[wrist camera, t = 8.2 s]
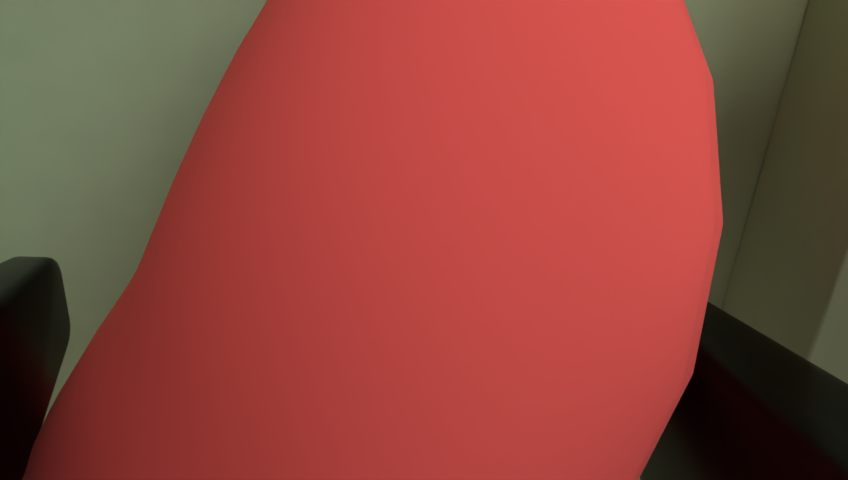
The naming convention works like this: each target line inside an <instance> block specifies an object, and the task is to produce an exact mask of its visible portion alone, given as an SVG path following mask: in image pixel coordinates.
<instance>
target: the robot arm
mask: <svg viewBox="0 0 848 480" xmlns="http://www.w3.org/2000/svg"><path fill="white" fill-rule="evenodd" d="M69 338H70V317H69V312H68V306H67V300H66V295H65V289H64V284H63V278H62V273H61V269H60V267H59V265H58V262H56V261H55V260H54V259H53V258H49V257H30V256H18V257H13V258H11V259H8V260H6V261H4V262H2V263H0V480H22V478H23V476H24V474H25V471H26V467H27V464H28V460H29V457H30V453H31V450H32V447H33V444H34V442H35V440H36V438H37V436H38V434H39V431H40V429H41V427H42V425H43V421H44V418H45V415H46V412H47V409H48V406H49V403H50V400H51V396H52V393H53V390H54V387H55V384H56V381H57V378H58V375H59V371H60V368H61V365H62V362H63V359H64V356H65V353H66V350H67V347H68V343H69ZM640 480H848V384H847V383H845V382H844V381H842V380H840V379H839V378H837V377H835V376H834V375H832V374H830V373H828V372H827V371H825V370H823V369H822V368H820V367H818V366H817V365H815V364H813V363H811V362H810V361H808V360H806V359H805V358H803V357H801V356H800V355H798V354H796V353H794V352H793V351H791V350H789V349H788V348H786V347H784V346H783V345H781V344H779V343H778V342H776V341H774V340H772V339H771V338H769V337H767V336H766V335H764V334H762V333H761V332H759V331H757V330H755V329H754V328H752V327H750V326H749V325H747V324H745V323H744V322H742V321H740V320H738V319H737V318H735V317H733V316H732V315H730V314H728V313H727V312H725V311H723V310H722V309H720V308H718V307H716V306H715V305H713V304H711V303H710V302H707V307H706V312H705V317H704V322H703V327H702V332H701V337H700V342H699V347H698V351H697V356H696V361H695V366H694V371H693V375H692V377H691V379H690V381H689V383H688V384H687V386H686V388H685V390H684V392H683V394H682V396H681V398H680V400H679V402H678V404H677V406H676V408H675V410H674V412H673V414H672V416H671V417H670V419H669V421H668V423H667V425H666V427H665V429H664V431H663V433H662V435H661V437H660V439H659V441H658V443H657V445H656V447H655V449H654V450H653V452H652V454H651V456H650V458H649V460H648V462H647V464H646V466H645V468H644V470H643V472H642V474H641V476H640Z"/></svg>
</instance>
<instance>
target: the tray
mask: <svg viewBox="0 0 848 480" xmlns="http://www.w3.org/2000/svg"><path fill="white" fill-rule="evenodd" d="M266 2H267V0H0V263H2V262H4V261H6V260H8V259H11V258H13V257H18V256H30V257H49V258H53V259H54V260H55V261H56V262H58V265H59V267H60V269H61V273H62V278H63V284H64V289H65V295H66V300H67V306H68V312H69V317H70V338H69V343H68V347H67V350H66V353H65V356H64V359H63V362H62V365H61V368H60V371H59V375H58V378H57V381H56V384H55V387H54V390H53V393H52V396H51V400H50V403H49V406H48V409H47V412H46V415H45V418H44V421H45V419H46V416H47V414H48V412H49V410H50V408H51V407H52V405H53V403H54V401H55V399H56V398H57V396H58V394H59V392H60V390H61V389H62V387H63V386H64V384H65V382H66V381H67V379H68V377H69V376H70V374H71V372H72V371H73V369H74V367H75V366H76V364H77V363H78V361H79V359H80V358H81V356H82V354H83V353H84V351H85V349H86V348H87V346H88V345H89V343H90V341H91V340H92V338H93V336H94V335H95V333H96V331H97V330H98V328H99V327H100V326H101V324H102V323H103V321H104V320H105V318H106V317H107V315H108V314H109V312H110V311H111V309H112V308H113V306H114V305H115V303H116V302H117V300H118V299H119V297H120V296H121V295H122V293H123V292H124V290H125V289H126V287H127V285H128V284H129V282H130V281H131V279H132V277H133V276H134V274H135V272H136V270H137V268H138V266H139V263H140V261H141V259H142V256H143V254H144V251H145V249H146V246H147V244H148V241H149V239H150V236H151V234H152V232H153V229H154V227H155V224H156V222H157V219H158V217H159V214H160V212H161V209H162V207H163V205H164V202H165V200H166V197H167V195H168V192H169V190H170V187H171V185H172V182H173V180H174V178H175V176H176V173H177V171H178V169H179V167H180V165H181V163H182V160H183V158H184V156H185V154H186V152H187V149H188V147H189V145H190V143H191V141H192V138H193V136H194V134H195V132H196V130H197V128H198V125H199V123H200V121H201V119H202V117H203V114H204V113H205V111H206V109H207V107H208V105H209V103H210V101H211V99H212V97H213V95H214V93H215V91H216V89H217V87H218V86H219V84H220V82H221V80H222V78H223V76H224V74H225V72H226V70H227V68H228V66H229V64H230V62H231V61H232V59H233V57H234V55H235V53H236V51H237V49H238V48H239V46H240V44H241V43H242V41H243V39H244V38H245V36H246V34H247V33H248V31H249V30H250V28H251V26H252V25H253V23H254V21H255V20H256V18H257V16H258V15H259V13H260V12H261V10H262V8H263V7H264V5H265V3H266ZM684 2H685V5H686V8H687V10H688V13H689V16H690V18H691V21H692V24H693V27H694V29H695V32H696V35H697V38H698V40H699V43H700V46H701V48H702V51H703V54H704V57H705V59H706V62H707V65H708V68H709V70H710V73H711V76H712V78H713V85H714V100H715V114H716V128H717V142H718V157H719V171H720V185H721V199H722V214H723V227H722V232H721V237H720V242H719V247H718V252H717V257H716V262H715V267H714V272H713V277H712V282H711V287H710V292H709V297H708V302H710V303H711V304H713V305H715V306H716V307H718V308H720V309H722V310H723V311H725V312H727V313H728V314H730V315H732V316H733V317H735V318H737V319H738V320H740V321H742V322H744V323H745V324H747V325H749V326H750V327H752V328H754V329H755V330H757V331H759V332H761V333H762V334H764V335H766V336H767V337H769V338H771V339H772V340H774V341H776V342H778V343H779V344H781V345H783V346H784V347H786V348H788V349H789V350H791V351H793V352H794V353H796V354H798V355H800V356H801V357H803V358H805V359H806V360H808V361H810V362H811V363H813V364H815V365H817V366H818V367H820V368H822V369H823V370H825V371H827V372H828V373H830V374H832V375H834V376H835V377H837V378H839V379H840V380H842V381H844V382H845V383H847V384H848V0H684ZM44 421H43V423H44ZM639 480H640V478H639Z"/></svg>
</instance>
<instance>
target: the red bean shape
mask: <svg viewBox="0 0 848 480" xmlns="http://www.w3.org/2000/svg"><path fill="white" fill-rule="evenodd" d="M722 227H723V214H722V199H721V185H720V171H719V157H718V142H717V128H716V114H715V100H714V85H713V78H712V76H711V73H710V70H709V68H708V65H707V62H706V59H705V57H704V54H703V51H702V48H701V46H700V43H699V40H698V38H697V35H696V32H695V29H694V27H693V24H692V21H691V18H690V16H689V13H688V10H687V8H686V5H685V2H684V0H267V2H266V3H265V5H264V7H263V8H262V10H261V12H260V13H259V15H258V16H257V18H256V20H255V21H254V23H253V25H252V26H251V28H250V30H249V31H248V33H247V34H246V36H245V38H244V39H243V41H242V43H241V44H240V46H239V48H238V49H237V51H236V53H235V55H234V57H233V59H232V61H231V62H230V64H229V66H228V68H227V70H226V72H225V74H224V76H223V78H222V80H221V82H220V84H219V86H218V87H217V89H216V91H215V93H214V95H213V97H212V99H211V101H210V103H209V105H208V107H207V109H206V111H205V113H204V114H203V117H202V119H201V121H200V123H199V125H198V128H197V130H196V132H195V134H194V136H193V138H192V141H191V143H190V145H189V147H188V149H187V152H186V154H185V156H184V158H183V160H182V163H181V165H180V167H179V169H178V171H177V173H176V176H175V178H174V180H173V182H172V185H171V187H170V190H169V192H168V195H167V197H166V200H165V202H164V205H163V207H162V209H161V212H160V214H159V217H158V219H157V222H156V224H155V227H154V229H153V232H152V234H151V236H150V239H149V241H148V244H147V246H146V249H145V251H144V254H143V256H142V259H141V261H140V263H139V266H138V268H137V270H136V272H135V274H134V276H133V277H132V279H131V281H130V282H129V284H128V285H127V287H126V289H125V290H124V292H123V293H122V295H121V296H120V297H119V299H118V300H117V302H116V303H115V305H114V306H113V308H112V309H111V311H110V312H109V314H108V315H107V317H106V318H105V320H104V321H103V323H102V324H101V326H100V327H99V328H98V330H97V331H96V333H95V335H94V336H93V338H92V340H91V341H90V343H89V345H88V346H87V348H86V349H85V351H84V353H83V354H82V356H81V358H80V359H79V361H78V363H77V364H76V366H75V367H74V369H73V371H72V372H71V374H70V376H69V377H68V379H67V381H66V382H65V384H64V386H63V387H62V389H61V390H60V392H59V394H58V396H57V398H56V399H55V401H54V403H53V405H52V407H51V408H50V410H49V412H48V414H47V416H46V419H45V421H44V423H43V425H42V427H41V429H40V431H39V434H38V436H37V438H36V440H35V442H34V444H33V447H32V450H31V453H30V457H29V460H28V464H27V467H26V471H25V474H24V476H23V478H22V480H639V478H640V476H641V474H642V472H643V470H644V468H645V466H646V464H647V462H648V460H649V458H650V456H651V454H652V452H653V450H654V449H655V447H656V445H657V443H658V441H659V439H660V437H661V435H662V433H663V431H664V429H665V427H666V425H667V423H668V421H669V419H670V417H671V416H672V414H673V412H674V410H675V408H676V406H677V404H678V402H679V400H680V398H681V396H682V394H683V392H684V390H685V388H686V386H687V384H688V383H689V381H690V379H691V377H692V375H693V371H694V366H695V361H696V356H697V351H698V347H699V342H700V337H701V332H702V327H703V322H704V317H705V312H706V307H707V302H708V297H709V292H710V287H711V282H712V277H713V272H714V267H715V262H716V257H717V252H718V247H719V242H720V237H721V232H722Z"/></svg>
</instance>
